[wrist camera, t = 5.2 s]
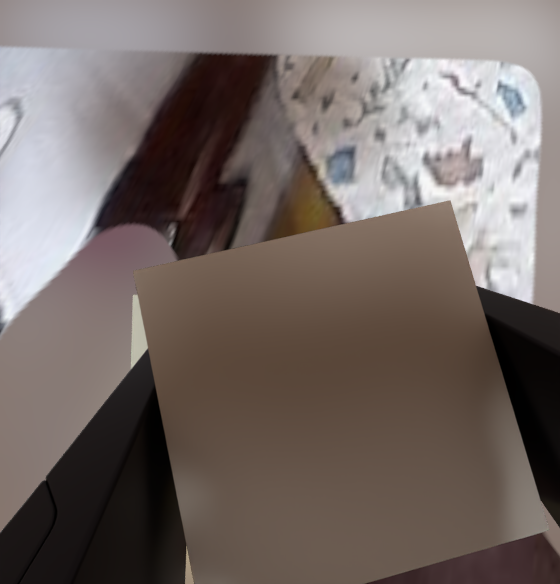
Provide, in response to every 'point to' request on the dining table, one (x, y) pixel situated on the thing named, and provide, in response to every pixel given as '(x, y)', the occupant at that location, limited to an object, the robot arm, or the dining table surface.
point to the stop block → (335, 405)
